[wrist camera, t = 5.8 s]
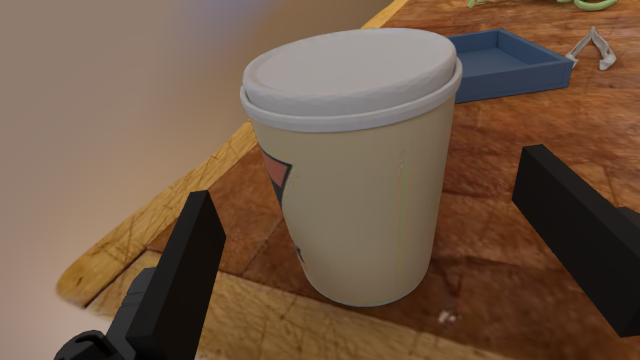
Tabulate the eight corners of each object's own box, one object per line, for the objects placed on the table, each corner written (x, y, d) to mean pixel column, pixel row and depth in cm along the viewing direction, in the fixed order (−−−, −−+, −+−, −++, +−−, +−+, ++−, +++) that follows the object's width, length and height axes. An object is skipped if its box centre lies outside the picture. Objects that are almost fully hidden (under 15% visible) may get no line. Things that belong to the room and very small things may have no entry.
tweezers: (613, 71, 38) (619, 51, 37) (561, 69, 40) (565, 51, 39) (610, 37, 50) (615, 22, 49) (570, 37, 52) (574, 23, 51)
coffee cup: (301, 207, 26) (265, 38, 19) (433, 203, 25) (443, 17, 18) (273, 320, 19) (197, 109, 12) (460, 325, 17) (495, 83, 10)
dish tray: (416, 109, 37) (416, 84, 36) (387, 65, 50) (386, 45, 48) (567, 87, 36) (574, 60, 35) (498, 48, 49) (501, 27, 48)
